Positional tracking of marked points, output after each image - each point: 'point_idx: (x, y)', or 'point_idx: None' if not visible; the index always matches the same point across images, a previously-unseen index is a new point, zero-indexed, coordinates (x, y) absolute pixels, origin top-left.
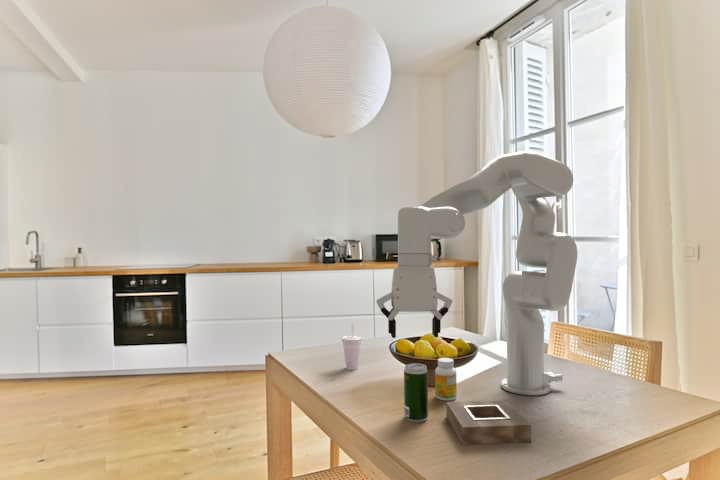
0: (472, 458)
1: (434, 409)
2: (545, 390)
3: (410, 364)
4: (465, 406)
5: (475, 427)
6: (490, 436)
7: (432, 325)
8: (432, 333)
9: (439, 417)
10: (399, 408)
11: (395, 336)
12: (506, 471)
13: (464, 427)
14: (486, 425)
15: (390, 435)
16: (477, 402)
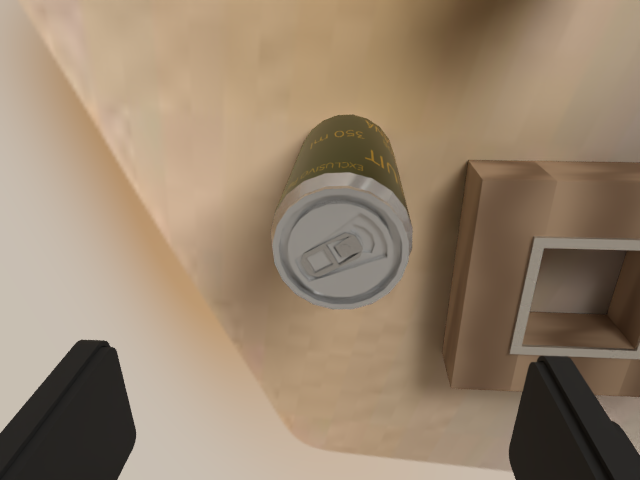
0: (436, 412)
1: (448, 66)
2: None
3: (313, 211)
4: (540, 245)
5: (491, 388)
6: None
7: (571, 444)
8: (533, 371)
9: (440, 156)
10: (293, 39)
11: (130, 444)
12: (488, 462)
13: (456, 387)
14: None
15: (241, 278)
16: (621, 197)
